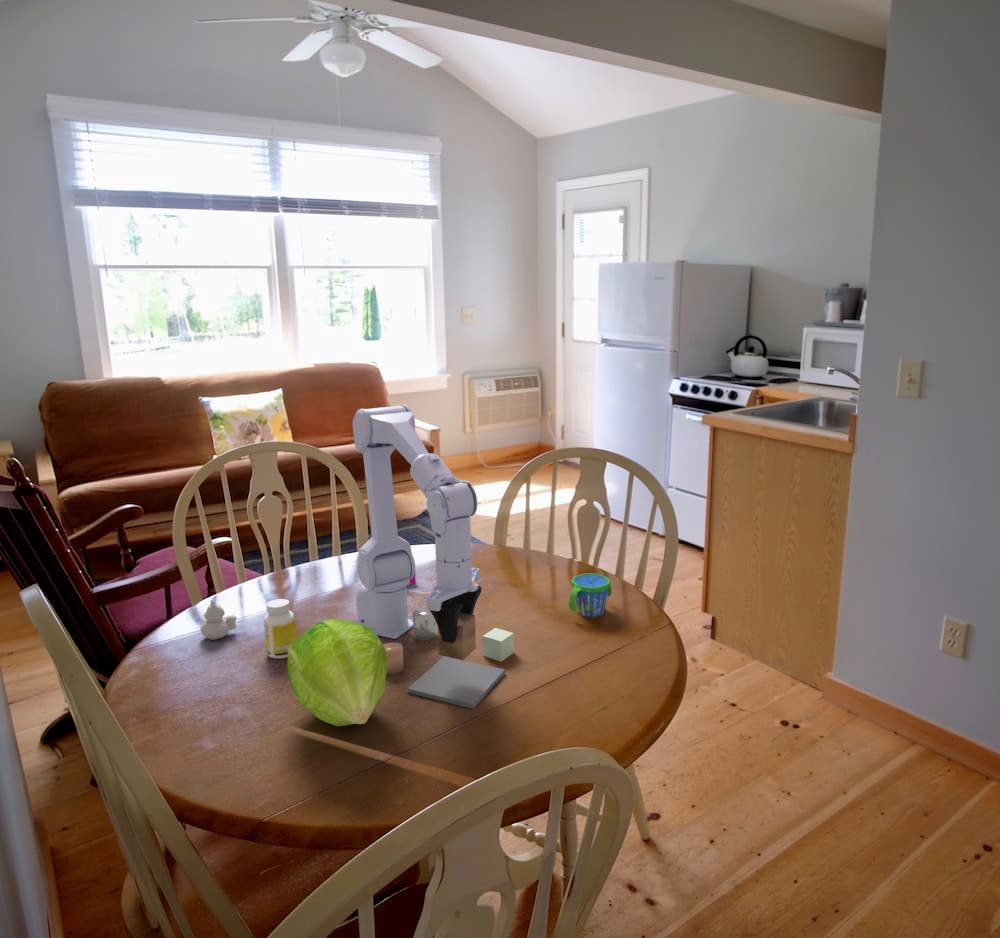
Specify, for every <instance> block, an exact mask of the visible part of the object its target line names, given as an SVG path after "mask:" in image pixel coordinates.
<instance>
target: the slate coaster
mask: <svg viewBox="0 0 1000 938" xmlns="http://www.w3.org/2000/svg"><path fill="white" fill-rule="evenodd" d="M504 675H506V669H504V668H500V667H495V666H490V665H486V664H481V663H476V662H472V661H466V660H459V659H455V658H450V657H446V656H442V657H441V658H440V659H439V660H438V661H437V662H435V664H433V665H432V666H431V667H430V668H429V669H428V670H427V671H426V672H425V673H424V674H422V675H421V676H420V677H419V678H418V679H416V681H415V682H413V683H412V685H410V686H409V687H408V688H407V692H408V694H411V695H415V696H419V697H422V698H423V697H424V698H427V699H431V700H436V701H439V702H444V703H448V704H452V705H456V706H460V707H465V708H469V709H472V710H474V709H475V708H476V707H477V706H478V705H479V703H481V701H482V700H483V699H484V698H485V697H486V695H487V694H488V693H489V692H490V691H491V690H492V689H493V688H494V686H495V685H496V684H497V683H498V682H500V680H501V679H502V678H503V677H504Z"/></svg>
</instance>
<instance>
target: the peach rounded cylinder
mask: <svg viewBox="0 0 1000 938" xmlns="http://www.w3.org/2000/svg"><path fill="white" fill-rule="evenodd" d="M382 644H383V646H384V647H385V652H386V658H387V665H388V666H387V672H386V675H395V674H399V673H401V672H402V671H403V670H404V669H405V667H404V666H405V665H404V664H405V663H404V649H403V648H404V646H403V644H401V643H400V642H397V641H396V642H395V641H393V642H392V641H391V642H386V643H382Z"/></svg>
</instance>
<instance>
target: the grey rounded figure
mask: <svg viewBox="0 0 1000 938" xmlns="http://www.w3.org/2000/svg"><path fill="white" fill-rule="evenodd" d="M225 614H226V612H225V610H224V608H223V607H222V606H221V605H220V604H217V603H216V602H215V601H213V600H212V599H210V604H209V605H208V606H207V608H206V611H205V612H204V613H203V615H202V616H203V617H204V618H205V621H204V622H203V624H202V625H201V626H200V633H201V634H202V636H204V637H205V638H206V639H208V640H211V641H213V640H219V639H223V638H224V637H225V636H226V635H227V634H228V633H229V631H231V630H235V629H236V628H237V624H236V621H237V616H236V615H235V614H234V615H227V616H226V617H225V616H224V615H225Z"/></svg>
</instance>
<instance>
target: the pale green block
mask: <svg viewBox="0 0 1000 938" xmlns="http://www.w3.org/2000/svg"><path fill="white" fill-rule="evenodd" d="M514 633H515V632H512V631H508V630H505V629H501V628H497V627H494V628H493V629H491V630H490V631H488V632H487V633H485V634H484V635H482V649H483V650H482V656H484V657H485V658H488V659H492V660H496V661H498V662H500V663H501V662H503V661H504V660H506V659H507V658H509V657H510V656H511V655H513V654H514V653H515V649H514V648H515V645H514V644H515V643H514V642H515V638H514V637H515V636H514V635H515V634H514Z"/></svg>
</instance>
